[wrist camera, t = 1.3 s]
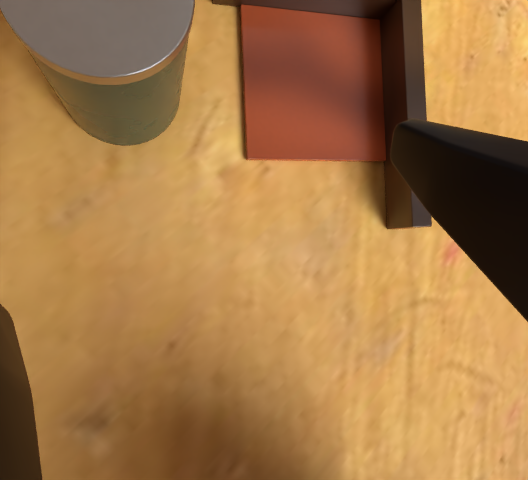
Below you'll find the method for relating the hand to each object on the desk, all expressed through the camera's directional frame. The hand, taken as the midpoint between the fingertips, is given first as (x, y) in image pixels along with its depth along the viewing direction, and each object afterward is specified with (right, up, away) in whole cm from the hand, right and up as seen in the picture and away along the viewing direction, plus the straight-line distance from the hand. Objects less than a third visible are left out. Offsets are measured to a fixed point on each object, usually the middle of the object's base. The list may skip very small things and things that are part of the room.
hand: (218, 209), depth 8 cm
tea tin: (-6, +7, +12) cm, 15 cm away
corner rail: (+4, +7, +14) cm, 16 cm away
